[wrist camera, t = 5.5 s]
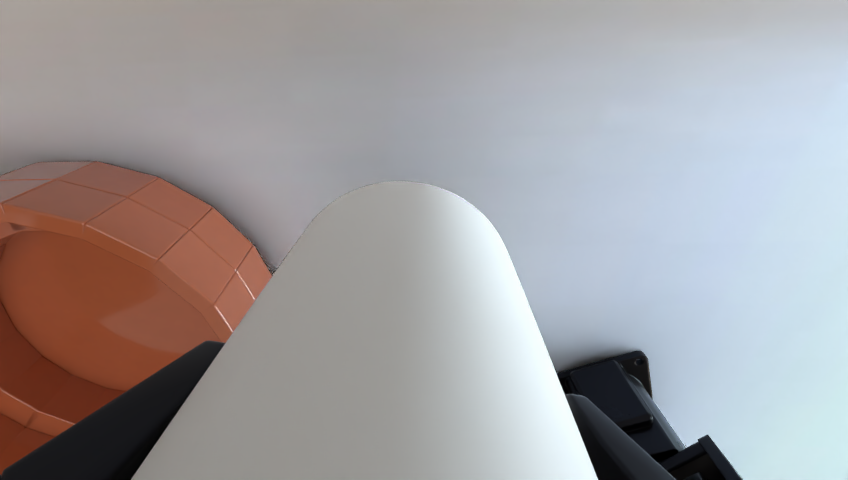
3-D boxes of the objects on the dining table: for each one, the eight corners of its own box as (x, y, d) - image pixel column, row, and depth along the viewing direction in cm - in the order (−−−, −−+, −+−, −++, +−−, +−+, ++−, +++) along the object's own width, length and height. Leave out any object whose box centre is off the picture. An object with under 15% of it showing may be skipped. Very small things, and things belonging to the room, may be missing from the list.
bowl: (332, 368, 24) (316, 453, 19) (99, 438, 26) (29, 534, 21) (182, 107, 18) (99, 138, 13) (-123, 222, 19) (-304, 288, 14)
